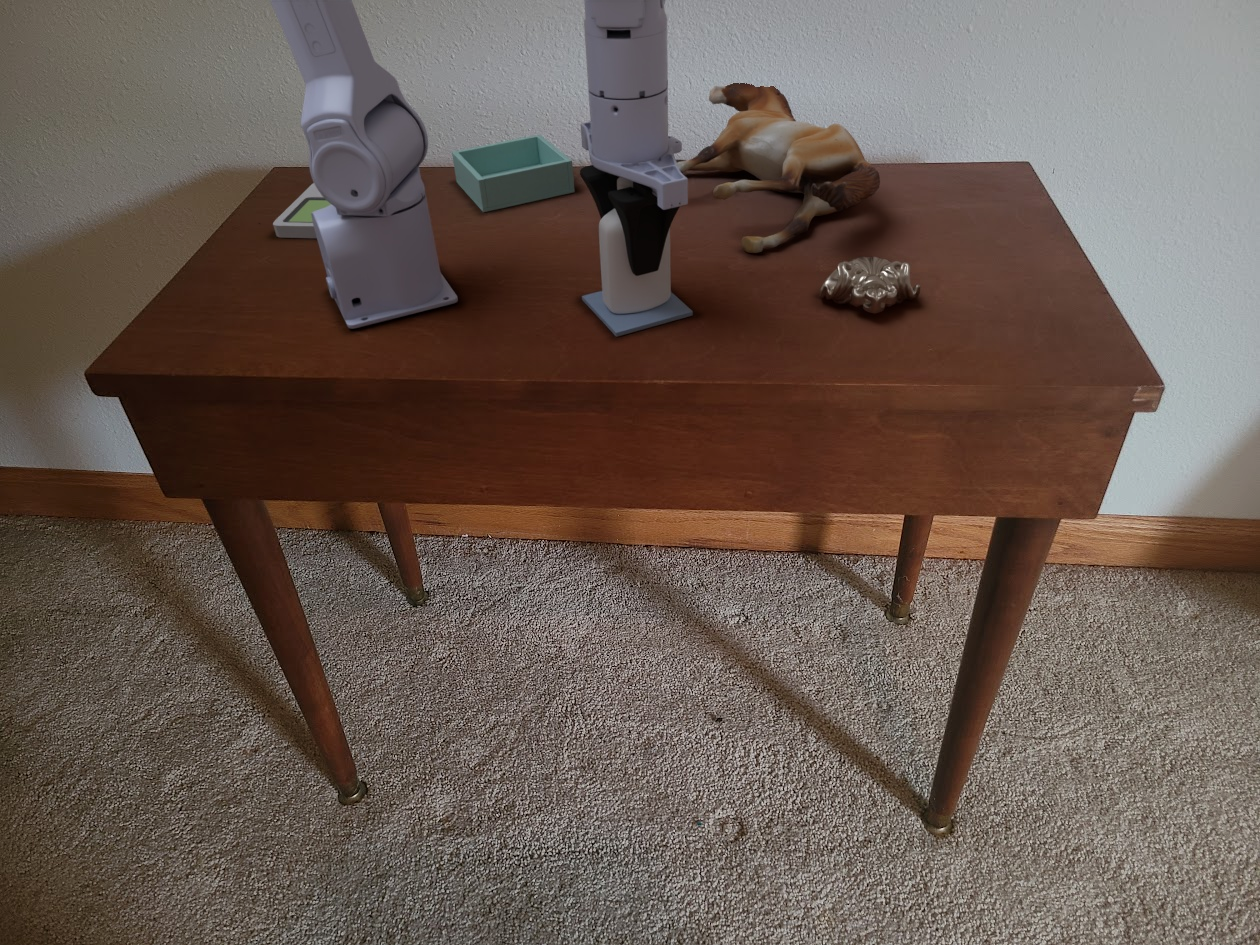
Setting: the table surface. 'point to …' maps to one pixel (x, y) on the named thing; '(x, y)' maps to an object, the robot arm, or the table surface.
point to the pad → (636, 314)
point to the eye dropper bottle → (629, 269)
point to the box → (513, 172)
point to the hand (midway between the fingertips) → (634, 261)
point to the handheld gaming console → (300, 215)
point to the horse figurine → (784, 158)
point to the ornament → (869, 283)
